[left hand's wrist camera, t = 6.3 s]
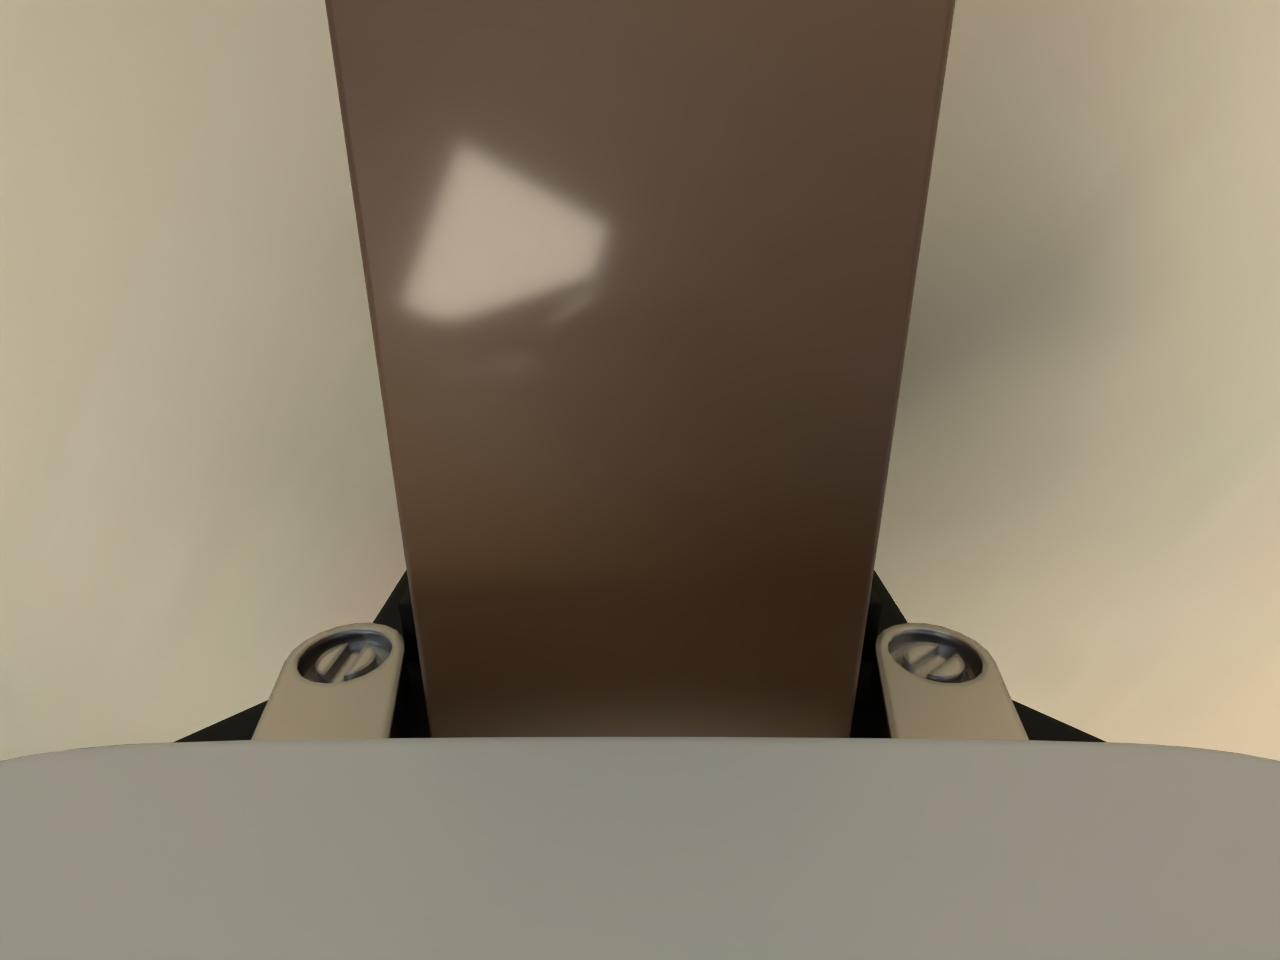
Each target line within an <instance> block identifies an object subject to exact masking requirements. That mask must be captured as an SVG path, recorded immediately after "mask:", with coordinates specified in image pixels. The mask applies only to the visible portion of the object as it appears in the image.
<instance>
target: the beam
mask: <svg viewBox="0 0 1280 960" xmlns="http://www.w3.org/2000/svg"><path fill="white" fill-rule="evenodd" d="M325 3H326V10H327V17H328V24H329V31H330V38H331V45H332V52H333V59H334V66H335V73H336V80H337V87H338V94H339V101H340V108H341V115H342V121H343V128H344V135H345V142H346V149H347V156H348V163H349V170H350V177H351V184H352V191H353V198H354V205H355V212H356V219H357V226H358V233H359V240H360V247H361V254H362V261H363V268H364V275H365V282H366V289H367V296H368V303H369V310H370V317H371V324H372V331H373V338H374V345H375V352H376V359H377V366H378V373H379V380H380V387H381V394H382V401H383V408H384V414H385V421H386V428H387V435H388V442H389V449H390V456H391V463H392V470H393V477H394V484H395V491H396V498H397V505H398V512H399V519H400V526H401V533H402V540H403V547H404V554H405V561H406V568H407V575H408V582H409V589H410V596H411V603H412V610H413V617H414V624H415V631H416V638H417V645H418V652H419V659H420V666H421V673H422V680H423V687H424V694H425V701H426V707H427V714H428V721H429V728H430V735H431V738H471V737H785V738H850V732H851V725H852V718H853V711H854V704H855V697H856V690H857V683H858V676H859V669H860V662H861V655H862V648H863V641H864V634H865V628H866V621H867V614H868V607H869V600H870V593H871V586H872V579H873V572H874V565H875V558H876V551H877V544H878V537H879V530H880V523H881V516H882V509H883V502H884V495H885V488H886V481H887V474H888V467H889V460H890V453H891V446H892V439H893V432H894V425H895V418H896V411H897V404H898V397H899V390H900V383H901V376H902V369H903V363H904V356H905V349H906V342H907V335H908V328H909V321H910V314H911V307H912V300H913V293H914V286H915V279H916V272H917V265H918V258H919V251H920V244H921V237H922V230H923V223H924V216H925V209H926V202H927V195H928V188H929V181H930V174H931V167H932V160H933V153H934V146H935V139H936V132H937V125H938V118H939V111H940V104H941V98H942V91H943V84H944V77H945V70H946V63H947V56H948V49H949V42H950V35H951V28H952V21H953V14H954V7H955V0H325Z"/></svg>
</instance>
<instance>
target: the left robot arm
mask: <svg viewBox="0 0 1280 960" xmlns="http://www.w3.org/2000/svg"><path fill="white" fill-rule="evenodd" d="M0 960H1280V761H1276V760H1271V759H1266V758H1261V757H1255V756H1250V755H1245V754H1240V753H1232V752H1225V751H1217V750H1209V749H1201V748H1192V747H1180V746H1167V745H1153V744H1134V743H1108V742H1105V741H1103V740H1101V739H1098V738H1096V737H1094V736H1092V735H1089V734H1087V733H1085V732H1083V731H1081V730H1078V729H1076V728H1074V727H1072V726H1069V725H1067V724H1065V723H1063V722H1060V721H1058V720H1056V719H1054V718H1051V717H1049V716H1047V715H1045V714H1042V713H1040V712H1038V711H1036V710H1033V709H1031V708H1029V707H1027V706H1025V705H1022V704H1020V703H1018V702H1016V701H1013V700H1012V699H1011V697H1010V695H1009V693H1008V690H1007V688H1006V686H1005V683H1004V681H1003V679H1002V676H1001V674H1000V672H999V669H998V667H997V665H996V663H995V661H994V659H993V658H992V656H991V655H990V654H989V652H988V651H987V650H986V649H985V648H983V647H982V646H981V645H980V644H978V643H977V642H976V641H974V640H973V639H971V638H969V637H967V636H965V635H963V634H961V633H959V632H956V631H953V630H950V629H948V628H945V627H941V626H936V625H930V624H925V623H907V621H906V619H905V618H904V616H903V615H902V613H901V612H900V610H899V608H898V607H897V605H896V604H895V602H894V600H893V599H892V597H891V596H890V594H889V593H888V591H887V589H886V588H885V586H884V585H883V583H882V582H881V580H880V578H879V577H878V575H877V574H876V572H875V571H874V572H873V579H872V586H871V593H870V600H869V607H868V614H867V621H866V628H865V634H864V641H863V648H862V655H861V662H860V669H859V676H858V683H857V690H856V697H855V704H854V711H853V718H852V725H851V732H850V738H785V737H471V738H431V735H430V728H429V721H428V714H427V707H426V701H425V694H424V687H423V680H422V673H421V666H420V659H419V652H418V645H417V638H416V631H415V624H414V617H413V610H412V603H411V596H410V589H409V582H408V575H407V570H406V571H405V573H404V575H403V576H402V578H401V579H400V581H399V582H398V584H397V586H396V587H395V589H394V590H393V592H392V593H391V595H390V597H389V598H388V600H387V601H386V603H385V605H384V606H383V608H382V609H381V611H380V612H379V614H378V616H377V617H376V619H375V620H374V622H373V623H355V624H350V625H344V626H339V627H335V628H332V629H330V630H327V631H324V632H321V633H319V634H317V635H315V636H313V637H311V638H309V639H307V640H306V641H304V642H303V643H302V644H300V645H299V646H298V647H297V648H295V649H294V650H293V651H292V652H291V654H290V655H289V656H288V658H287V659H286V661H285V663H284V665H283V667H282V669H281V672H280V674H279V676H278V679H277V681H276V683H275V686H274V688H273V690H272V693H271V695H270V697H269V699H268V700H267V701H265V702H263V703H260V704H258V705H256V706H254V707H251V708H249V709H247V710H245V711H243V712H240V713H238V714H236V715H234V716H231V717H229V718H227V719H225V720H222V721H220V722H218V723H216V724H213V725H211V726H209V727H207V728H204V729H202V730H200V731H198V732H195V733H193V734H191V735H189V736H187V737H184V738H182V739H180V740H178V741H175V742H173V743H146V744H127V745H114V746H102V747H90V748H78V749H71V750H63V751H56V752H49V753H42V754H35V755H29V756H24V757H19V758H14V759H9V760H4V761H0Z"/></svg>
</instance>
